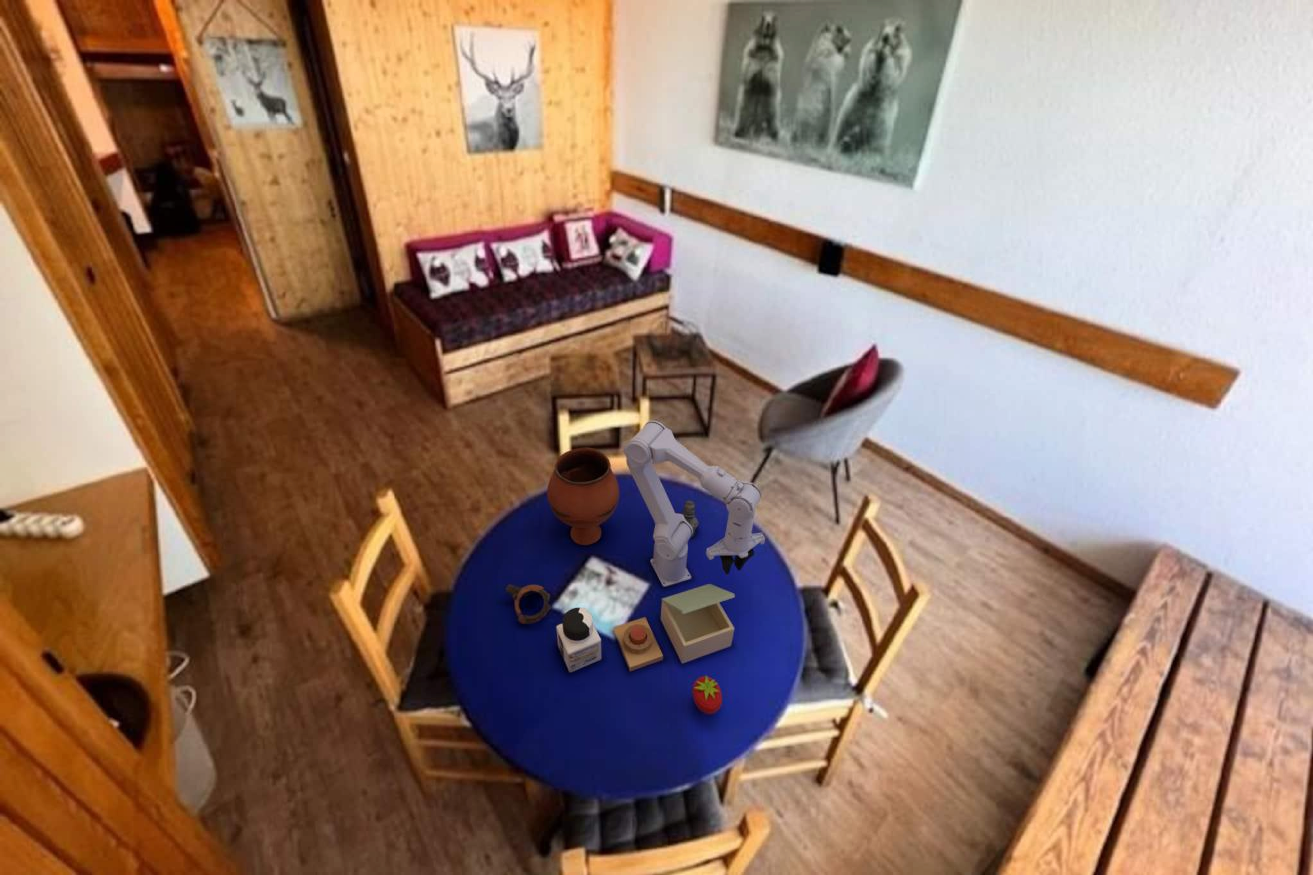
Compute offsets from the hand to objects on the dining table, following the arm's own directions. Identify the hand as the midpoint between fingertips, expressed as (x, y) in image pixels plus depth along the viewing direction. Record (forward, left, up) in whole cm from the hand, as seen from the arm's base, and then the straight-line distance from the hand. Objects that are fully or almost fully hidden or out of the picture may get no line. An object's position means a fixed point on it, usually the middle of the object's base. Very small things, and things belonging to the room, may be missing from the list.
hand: (731, 569), depth 139 cm
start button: (+5, -26, -7) cm, 27 cm away
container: (+2, -39, -11) cm, 40 cm away
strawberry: (+24, -18, -11) cm, 32 cm away
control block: (+5, -26, -10) cm, 28 cm away
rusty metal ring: (-14, -47, -11) cm, 50 cm away
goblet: (-33, -27, -11) cm, 44 cm away
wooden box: (+7, -12, -10) cm, 17 cm away
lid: (+6, -12, +1) cm, 13 cm away
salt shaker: (-24, 0, -11) cm, 26 cm away
